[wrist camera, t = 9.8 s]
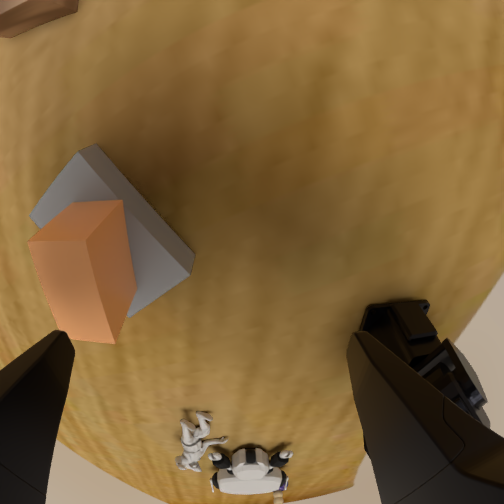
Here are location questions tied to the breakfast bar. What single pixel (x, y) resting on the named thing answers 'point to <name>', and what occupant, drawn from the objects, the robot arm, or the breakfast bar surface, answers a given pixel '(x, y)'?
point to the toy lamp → (279, 495)
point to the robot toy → (249, 471)
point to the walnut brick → (31, 14)
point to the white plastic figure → (195, 442)
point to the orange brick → (86, 269)
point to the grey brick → (136, 216)
